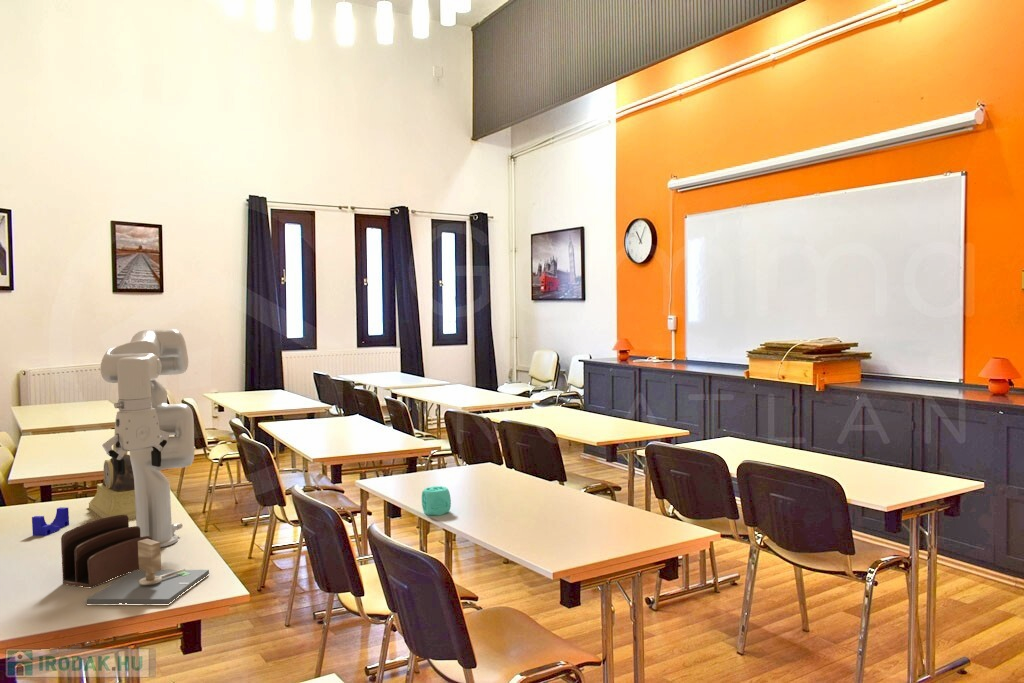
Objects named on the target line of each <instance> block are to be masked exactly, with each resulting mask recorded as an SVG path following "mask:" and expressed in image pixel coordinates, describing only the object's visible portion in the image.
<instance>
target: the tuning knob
mask: <svg viewBox="0 0 1024 683" xmlns="http://www.w3.org/2000/svg"><path fill="white" fill-rule="evenodd" d="M161 550H162V549H161V548H160V542H157V541H154V540H150V539H144V540H140V541H138V560H139V569H138V570H143V571H146V577H145V578H142V579H141V580H139V584H140V585H153V584H156V583H159V582H161V581H162V578H165V577H169V576H172V575H175V574H178V573H181V572H184V571H185V570H186V568H181V569H176V570H177V571H174V572H171V573H167V574H164V575H161V576H155V572H158V571H161V570H162V552H161Z"/></svg>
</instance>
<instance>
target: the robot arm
mask: <svg viewBox="0 0 1024 683" xmlns="http://www.w3.org/2000/svg"><path fill="white" fill-rule="evenodd" d="M188 367H189V355H188V350H187V346H186V341H185V338H184V336H183V333H182V332H181V331H179V330H177V329H173V328H169V329H168V328H167V329H144V330H139V331H138V332H136V333H135V334H134V335H133V336H132V338H131V340H130V342H126V343H124V344H121V345H117V346H113V347H111V348H109V349H107V350H106V352H105V354H103V356H102V359H101V362H100V368H99V369H100V375H101V378H102V379H103V380H104V382H107V383H110V384H111V383H112V384H115V383H116V384H117V390H118V391H117V392H118V399H117V402H115V403H114V404H113V406H114V408H115V409H118V411H117V412H116V415H115V422H114V423H115V424H114V435H113V436H112V437H111V438H109V439H108V440H106V441H104V443H103V444H102V448H103V449H104V451H105V452H106V455H108V456H109V457H111V458H112V459H114V470H115V472H116V474H119V475H124V474H125V462H124V459H122V457H123V456H124V454H125V453H126V451H127V452H129V455H130V460H131V465H132V469H133V475H134V486H135V506H136V518H135V522H136V523H135V524H136V525H135V526H138V527H140V536H141V537H145V536H150V537H152V540H154V541H157V542H160V549H161V548H164V547H168V546H171V545H173V544H175V543H177V542H178V539H179V537H178V536H179V535H177V534H175V532H176V531H178V530H181V529H182V528H183V523H182V522H178V523H177V522H176V523H172V505H171V502H172V501H171V498H172V497H171V484H170V481H169V479H168V478H167V476H165V474H163V473H162V472H161V471H163V470H169V469H170V470H171V469H182V468H187V467H190V466H191V465H192V464H193V462H194V461H195V424H194V423H195V422H194V421H195V420H194V413H193V410H192V408H191V406H189V405H188V404H186V403H170V404H168V392H167V389H166V388H165V387H164V386H163V384H161V382H159V381H158V380H157V379H158V378H159V376H172V375H181V374H184V373H186V371H187V370H188ZM114 444H115V447H116V450H115V451H113V445H114Z"/></svg>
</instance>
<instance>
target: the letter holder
mask: <svg viewBox="0 0 1024 683" xmlns="http://www.w3.org/2000/svg"><path fill="white" fill-rule="evenodd" d="M129 524H130V519H128V516H127V515H117V516H111V517H106V518H102V517H101V518H99V519H95V520H93V521H89V522H87V523H84V524H82V525H78V526H76V527H74V528H72V529H69V530H67V531H66V532H64V533H63V534H62V535H61V537H60V546H61V566H62V567H61V570H62V571H61V572H62V584H63V585H66V584H68V585H67V586H72V585H75V586H74V587H78V586H83V587H82V588H84V587H92V588H94V587H96V586H95V585H97V586H99V585H98V584H100V585H102V584H104V583H103V582H105V583H107V582H109V581H108V580H110V579H112V578H115V577H117V576H120V575H123V574H125V575H127V574H126V573H128V572H132V571H134V570H137V569H138V570H140V569H139V560H138V541H140V540H144V539H150V540H152V537H150V536H145V537H141V536H140V527H138V526H136V525H135V526H134V525H133V526H130V525H129ZM128 574H129V573H128ZM123 576H124V575H123ZM120 577H121V576H120ZM115 579H116V578H115ZM106 581H107V582H106ZM110 581H111V580H110ZM101 583H102V584H101ZM93 586H94V587H93Z"/></svg>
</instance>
